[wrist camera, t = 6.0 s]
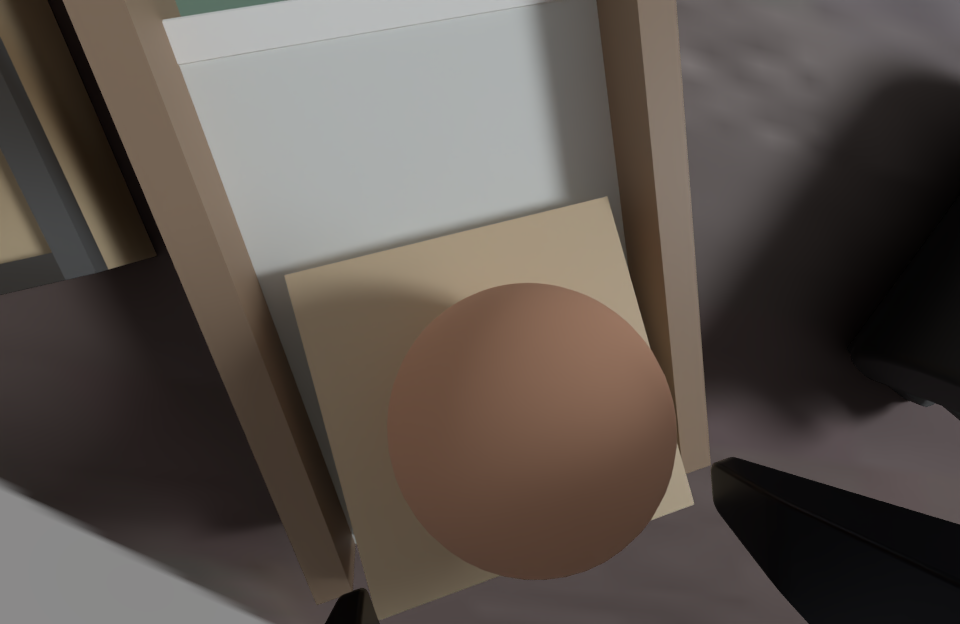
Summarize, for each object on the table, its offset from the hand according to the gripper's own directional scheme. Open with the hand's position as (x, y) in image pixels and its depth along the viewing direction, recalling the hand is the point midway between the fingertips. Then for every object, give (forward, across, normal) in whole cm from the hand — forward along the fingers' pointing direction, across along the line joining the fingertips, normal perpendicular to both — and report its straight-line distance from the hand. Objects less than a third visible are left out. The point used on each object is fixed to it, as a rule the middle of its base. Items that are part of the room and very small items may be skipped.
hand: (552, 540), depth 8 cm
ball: (0, 0, -2) cm, 2 cm away
